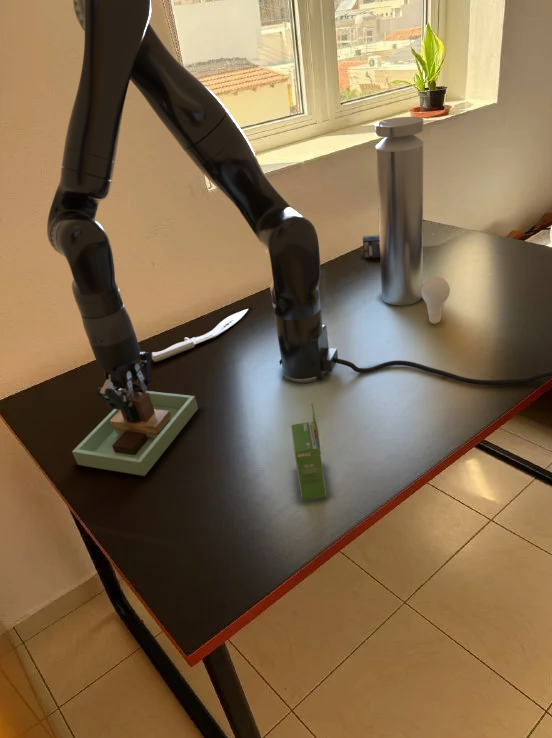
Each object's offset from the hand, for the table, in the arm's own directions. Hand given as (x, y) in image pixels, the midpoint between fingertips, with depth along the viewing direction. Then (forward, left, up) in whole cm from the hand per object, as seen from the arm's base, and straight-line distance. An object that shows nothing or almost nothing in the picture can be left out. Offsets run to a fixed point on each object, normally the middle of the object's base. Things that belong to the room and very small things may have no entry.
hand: (139, 415), depth 105 cm
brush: (0, 0, -3) cm, 3 cm away
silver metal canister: (-36, -62, -4) cm, 72 cm away
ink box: (-35, +7, -5) cm, 36 cm away
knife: (+7, -37, -4) cm, 38 cm away
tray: (0, +1, -4) cm, 5 cm away
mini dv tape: (-24, -88, -4) cm, 92 cm away
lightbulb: (-46, -49, -5) cm, 68 cm away
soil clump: (0, +5, -4) cm, 6 cm away
